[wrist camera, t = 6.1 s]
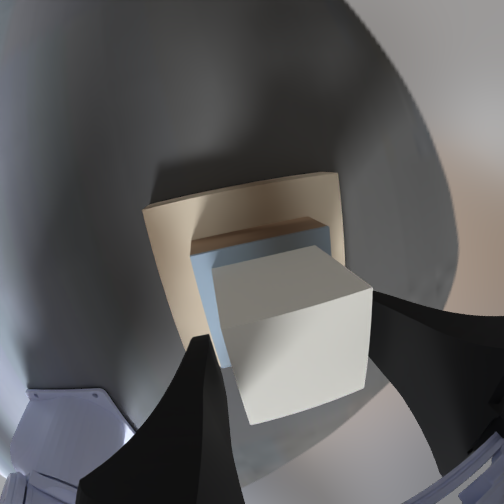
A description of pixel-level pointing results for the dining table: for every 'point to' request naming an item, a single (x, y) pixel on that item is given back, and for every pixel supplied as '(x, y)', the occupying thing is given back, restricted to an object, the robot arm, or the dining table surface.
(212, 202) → the base
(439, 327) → the robot arm
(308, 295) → the cream cube
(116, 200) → the dining table surface
